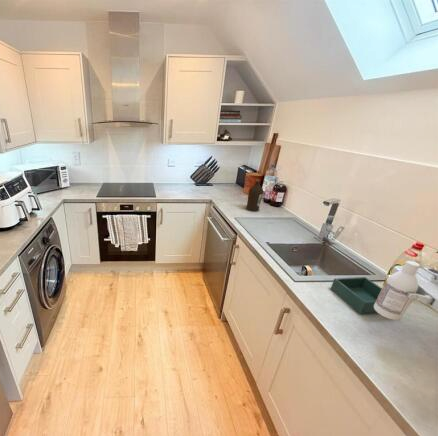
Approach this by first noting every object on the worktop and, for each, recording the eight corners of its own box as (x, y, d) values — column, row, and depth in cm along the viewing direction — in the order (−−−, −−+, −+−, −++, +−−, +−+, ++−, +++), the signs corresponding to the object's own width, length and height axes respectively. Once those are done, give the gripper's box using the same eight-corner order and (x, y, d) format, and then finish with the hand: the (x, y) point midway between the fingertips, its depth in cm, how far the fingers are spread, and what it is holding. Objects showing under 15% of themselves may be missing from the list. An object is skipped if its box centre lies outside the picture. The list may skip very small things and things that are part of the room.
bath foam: (382, 303, 83) (407, 255, 75) (406, 318, 77) (436, 267, 69) (367, 307, 82) (391, 258, 74) (391, 322, 76) (419, 271, 68)
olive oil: (243, 209, 194) (249, 180, 184) (247, 206, 201) (253, 177, 191) (257, 212, 188) (263, 182, 178) (260, 209, 195) (267, 179, 185)
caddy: (360, 286, 106) (365, 276, 104) (394, 311, 93) (400, 300, 91) (330, 288, 105) (334, 278, 103) (360, 313, 92) (365, 302, 90)
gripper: (479, 325, 65) (420, 318, 67) (416, 279, 83) (372, 275, 86) (493, 308, 62) (431, 301, 65) (424, 264, 81) (378, 260, 83)
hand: (397, 286), depth 75 cm, fingers closed on bath foam, 7 cm apart
